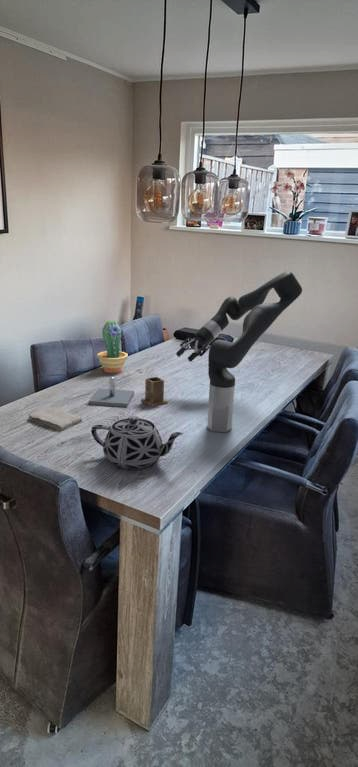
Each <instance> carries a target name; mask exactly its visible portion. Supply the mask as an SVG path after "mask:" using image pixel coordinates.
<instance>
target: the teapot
mask: <svg viewBox="0 0 358 767" xmlns="http://www.w3.org/2000/svg"><path fill="white" fill-rule="evenodd" d="M97 430H107V431H108V432H107V434H106V436H105V439H104V441H103V439H102V438H100V436H99V435H98V432H97ZM90 433H91V436H92V438H93V440H95V442H96V443H97V444H98V445H100V446H101V447H102V452H103V454H104V457H105V458H106V459H107V460H108V461H109V462H110V463H111V464H113V465H114V466H116V467H118V468H121V469H126V470H141V469H145V468H148V467H150V466H152V465H153V464H154V463H156V462H157V461H158V460H159V459H160V458H161V457H164V456H167V455H168V454H169V453H170V452H171V450H172V448H173V445H174V442H175V440H176V439H177V438H178V437H179V436H182V435H184V432H180V431H176V432H172V433H171V434H170V435H169V437H168V439H167V442H165V443H163V440H162V437H161V435H160V432H159V430H158V428H157V426H156V424H155V423H154V422H152V421H151V420H148V419H144V418H140V417H139V416H136V415H131V416H128V418H122V419H120V420H119V419H118V420H116V421H114V422H113V423H112V424H111V425H106V424H95V425H93V426H91V428H90Z"/></svg>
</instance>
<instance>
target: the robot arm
mask: <svg viewBox="0 0 358 767" xmlns="http://www.w3.org/2000/svg"><path fill="white" fill-rule="evenodd" d="M273 289H274V291H275V293H276V294H277V295H278V297H279V298H280V300H279V301H278V302H272V303H271V302H270V303H264V302H265V301H266V298H267V296H268V294H269V293H270V292H271V290H273ZM302 292H303V287H302V286H301V284H300V283H299V281H298V279H297V277H296V276H295V275H294V273H293V272H291V271H290V270H289V271H284V272H282V273H280V274H277V276H275V277H273V278H271V279H270V280H269V281H267V282H265V283H264V284H262V285H261V286H259V287H258V288H256V289H254V290H252V291H250V292H248V293H245V294H244V295H242V296H240V297H238V299H237V298H236V297H235V296H228V297H227V298H225V299H224V300H223V302H222V304H221V305H220V307H219V309H218V311H217V312H216V313H215V315H214V316H213V317H212V318H210V319H209V320H208V321H207V322H205V323H204V324H203V325H202V326H201V327H200V328H199V329H198V331H196V332H195V334H194V335H195V336H194V337H193V338H191V336H188V337H186V338H185V339H184V340H183V341H182V342H181V343H180V344H179V346H180V348H179V349H178V350H177V351H176V353H175V355H176V356H177V358H181V356H182V355H183V354H184V353H185V352H187V351H191V350H192V351H193V352H192V353H191V354H190V355H189V356H188V357H187V360H188V362H193V361H194V360H195V359H196V358H197V357H203V356H204V355H205V353H206V352H208V368H207V370H208V371H207V372H208V373H207V374H208V378H209V390H208V406H207V407H208V408H207V425H206V427H207V429H209V430H210V432H217V433H218V432H219V433H228V431H231V430H232V429H231V428H232V427H233V417H234V416H233V413H234V404H235V403H234V402H235V400H234V398H235V387H236V378H235V376H234V374H232V373H231V372H230V371H229V370H228V369H235V368H236V367H238V366H239V364H240V363H241V362H242V361H243V359H244V358H245V357H246V355H247V354H248V353H249V351H250V349H251V348H252V346H254V344H255V343H256V342H257V341H258V340H259V338H261V337H262V335H263V334H264V333H265V332H266V331H267V330H268V329H269V328H270V327H271V326H272V324H273V323H274V322H275V321H276V320H277V319H278V317H279V316H280V315H281V314H282V313H283V312H284V311H285V310H286V309H287V308H288V307H289V306H290V305H291V304H293V303H295V301H296V300H297V299H299V297H300V296H301V294H302ZM245 314H246V315H245ZM244 315H245V317H244V318H243V322H242V334H241V335H240V336H239V337H238V339H236V340H235V341H233V342H232V341H228V340H225V339H224V340H223V339H216V338H217V337H218V336H219V335H220V334H221V332H223V330H224V329H225V328H227V326H229V324H230V320H233V321H239V320H240V319H241V318H242V317H243V316H244ZM228 317H229V319H230V320H229V319H228ZM215 339H216V340H215ZM230 429H231V430H230Z"/></svg>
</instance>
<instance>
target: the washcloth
mask: <svg viewBox="0 0 358 767" xmlns="http://www.w3.org/2000/svg"><path fill="white" fill-rule="evenodd" d="M28 416H29V417H28V419H29V420H30V421H31V420H32V422H34V423H37V424H39V425H42V426H45V427H47V428H51V429H54V430H55V431H58V432H59V431H64V430H66V429H68V428H69V427H71V426H75V425H77V424H79V423H81V422H82V421H83V418H82V417H81V416H79V415H77V414H73V413H72V412H68V411H65V410H62V409H59V408H56V407H53V406H49V407H46V408H45V409H42V410H38V411H34V412H33V413H30V414H29V415H28Z"/></svg>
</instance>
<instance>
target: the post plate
mask: <svg viewBox="0 0 358 767" xmlns="http://www.w3.org/2000/svg"><path fill="white" fill-rule="evenodd" d="M108 383H109V384H108V387H109V388H97V389H96V391H95V393H93V395H92V396H91V397H90V399H89V400H88V405H90V406H91V405H94V406H104V407H105V406H107V407H120V408H121V407H122V408H128V407H129V404H130V402H131V401H132V399H133V397H134V396H135V390H125V389H116V378H115V377H114V376H110V377H109V379H108Z"/></svg>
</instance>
